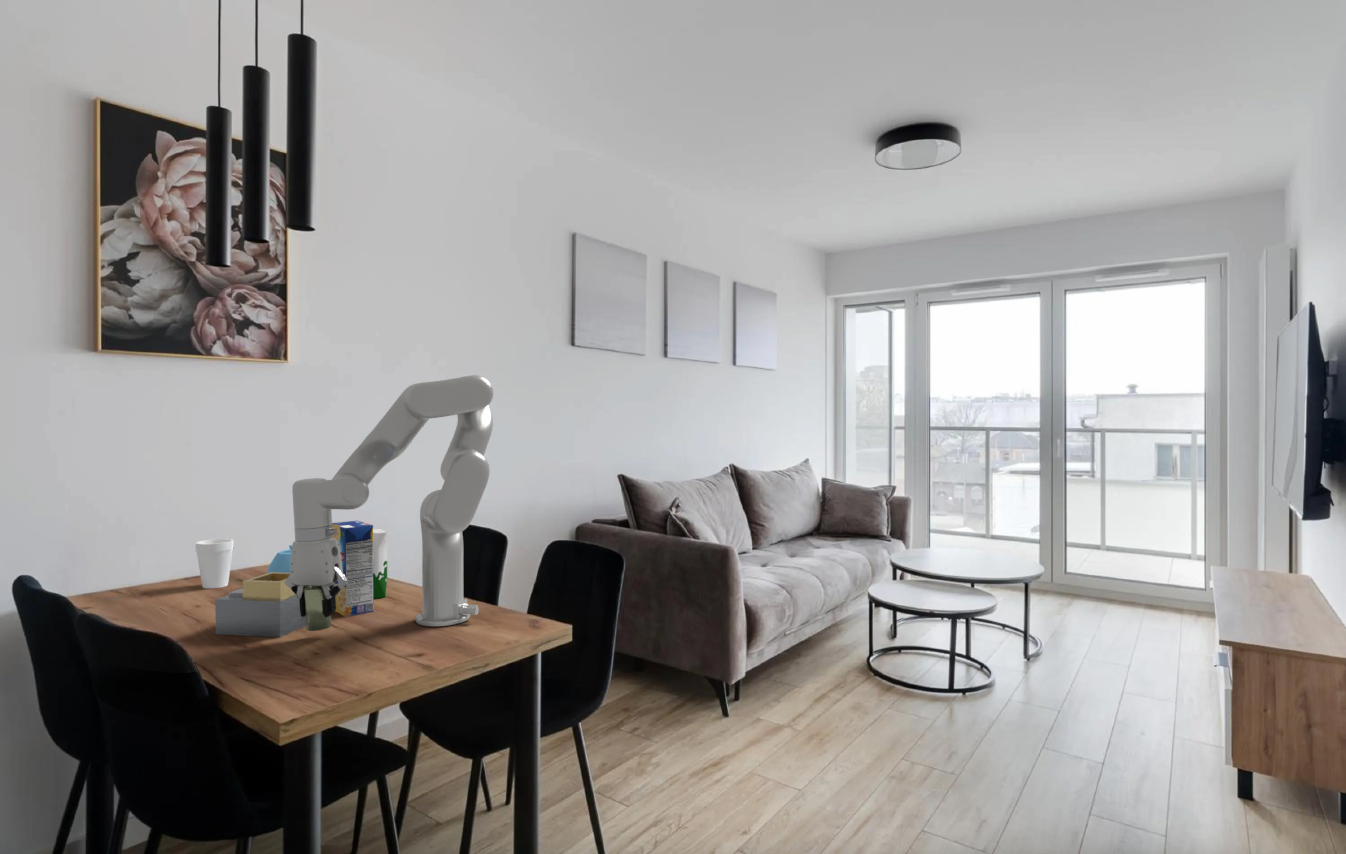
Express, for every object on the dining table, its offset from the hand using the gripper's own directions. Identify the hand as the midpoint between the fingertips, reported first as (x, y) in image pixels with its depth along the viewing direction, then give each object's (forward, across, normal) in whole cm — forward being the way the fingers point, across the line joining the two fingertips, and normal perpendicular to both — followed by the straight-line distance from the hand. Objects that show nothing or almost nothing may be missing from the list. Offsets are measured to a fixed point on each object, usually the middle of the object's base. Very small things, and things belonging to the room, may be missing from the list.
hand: (318, 613), depth 159 cm
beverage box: (+6, +6, -22) cm, 24 cm away
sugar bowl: (+6, +39, -46) cm, 61 cm away
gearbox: (+5, +17, -5) cm, 18 cm away
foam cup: (+5, +60, -40) cm, 72 cm away
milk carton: (+6, +9, -35) cm, 37 cm away
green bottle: (+3, 0, 0) cm, 3 cm away
